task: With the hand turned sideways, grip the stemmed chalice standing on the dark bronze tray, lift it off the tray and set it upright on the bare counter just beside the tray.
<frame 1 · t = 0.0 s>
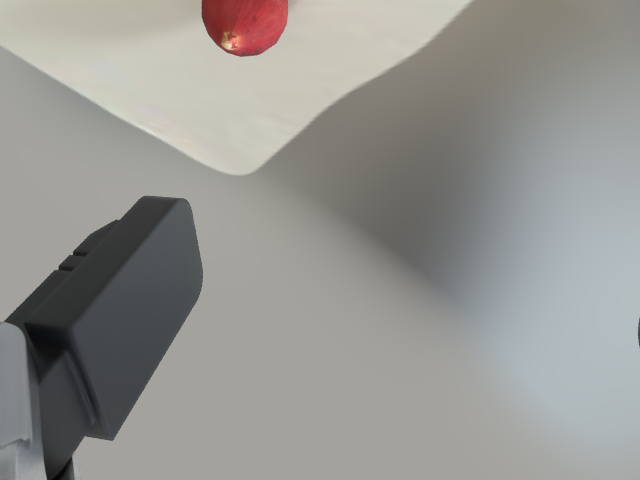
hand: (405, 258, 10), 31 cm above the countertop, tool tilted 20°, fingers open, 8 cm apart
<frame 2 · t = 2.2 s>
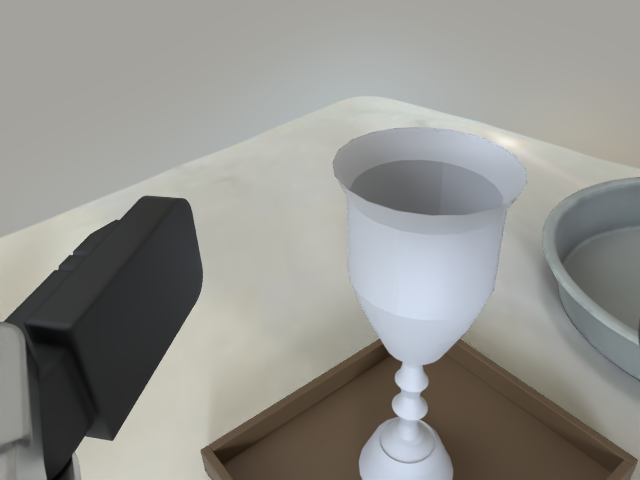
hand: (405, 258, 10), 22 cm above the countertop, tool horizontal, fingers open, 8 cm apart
tray: (411, 475, 31), on the countertop
chalice: (405, 468, 31), resting on tray
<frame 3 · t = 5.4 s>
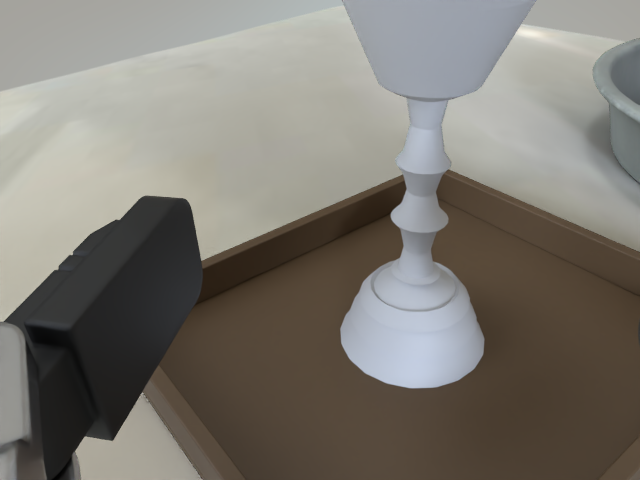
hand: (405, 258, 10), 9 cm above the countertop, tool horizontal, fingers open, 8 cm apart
tray: (420, 347, 20), on the countertop
chalice: (410, 337, 20), resting on tray
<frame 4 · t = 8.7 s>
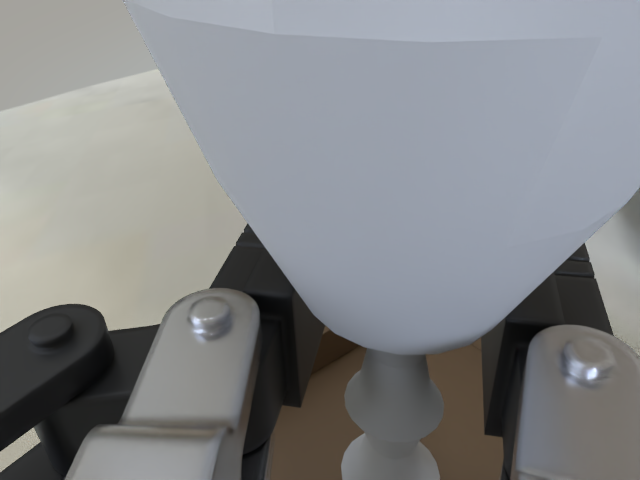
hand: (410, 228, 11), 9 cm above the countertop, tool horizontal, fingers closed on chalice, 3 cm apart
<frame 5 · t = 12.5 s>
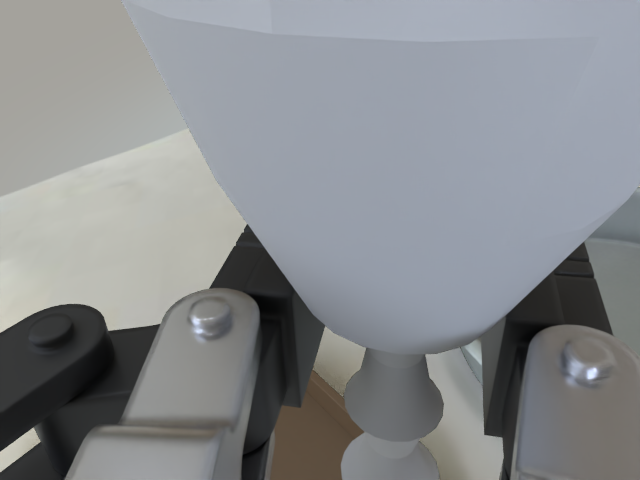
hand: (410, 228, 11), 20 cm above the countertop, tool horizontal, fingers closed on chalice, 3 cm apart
cake pan: (627, 340, 36), on the countertop
when the fingers open (8 cm above the countertop, at t = 16.7 s): chalice stays where it is, on the countertop.
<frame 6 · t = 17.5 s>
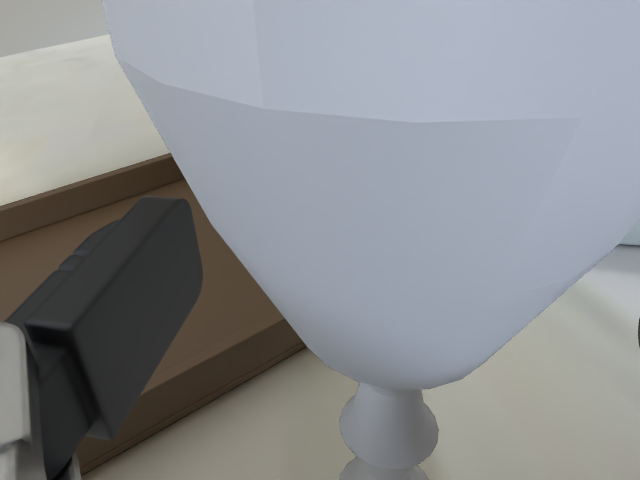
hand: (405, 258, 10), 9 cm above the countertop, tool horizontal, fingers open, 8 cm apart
tray: (122, 291, 24), on the countertop
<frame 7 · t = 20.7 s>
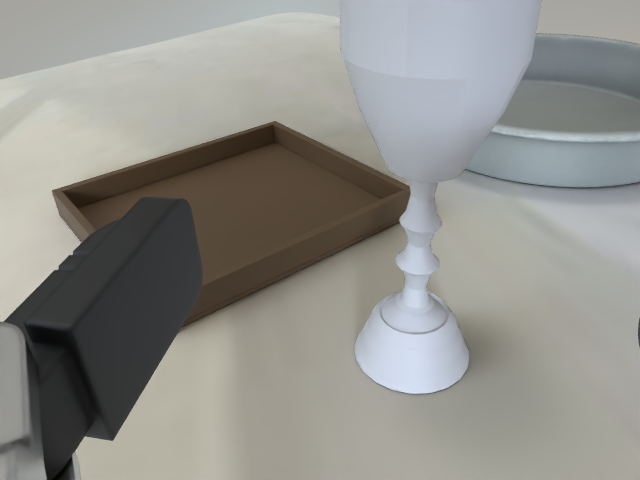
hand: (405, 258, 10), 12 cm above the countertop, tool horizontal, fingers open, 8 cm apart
tray: (233, 214, 36), on the countertop
cake pan: (539, 129, 46), on the countertop
chalice: (410, 353, 26), on the countertop
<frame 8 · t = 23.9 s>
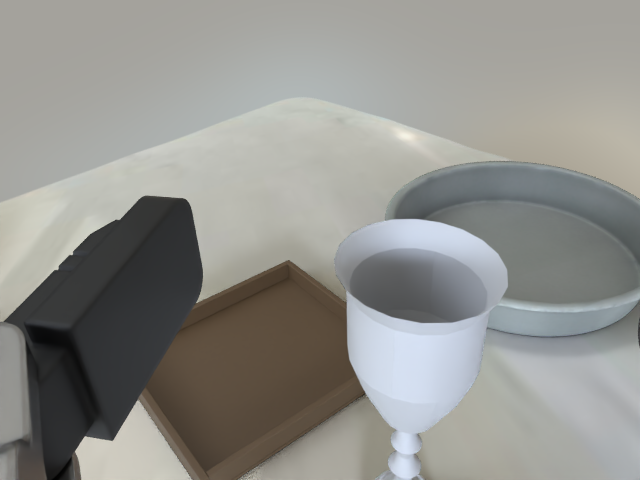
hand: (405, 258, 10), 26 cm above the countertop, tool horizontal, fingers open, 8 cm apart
tray: (257, 363, 44), on the countertop
cake pan: (514, 261, 54), on the countertop
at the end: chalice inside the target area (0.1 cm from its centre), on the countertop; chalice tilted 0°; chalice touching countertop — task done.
